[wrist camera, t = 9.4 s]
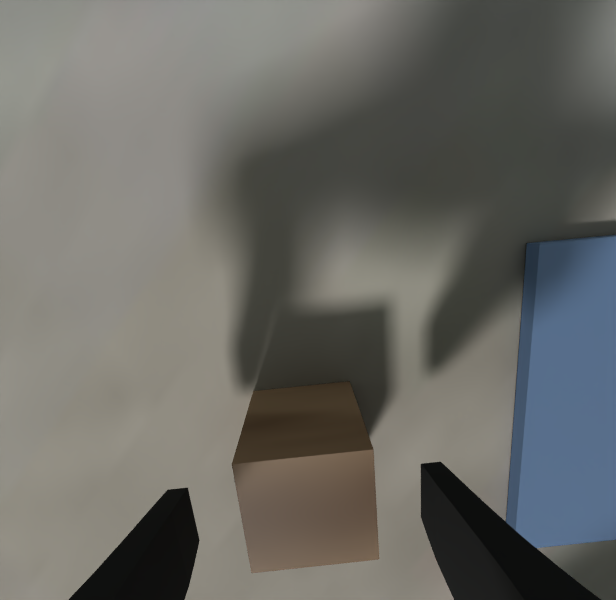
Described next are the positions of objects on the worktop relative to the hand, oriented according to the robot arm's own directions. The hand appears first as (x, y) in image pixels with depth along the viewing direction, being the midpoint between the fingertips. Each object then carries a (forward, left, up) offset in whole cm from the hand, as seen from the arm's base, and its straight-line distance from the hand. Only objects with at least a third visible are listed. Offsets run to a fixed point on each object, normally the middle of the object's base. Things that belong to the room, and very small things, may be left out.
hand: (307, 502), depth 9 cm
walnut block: (0, 0, -4) cm, 4 cm away
